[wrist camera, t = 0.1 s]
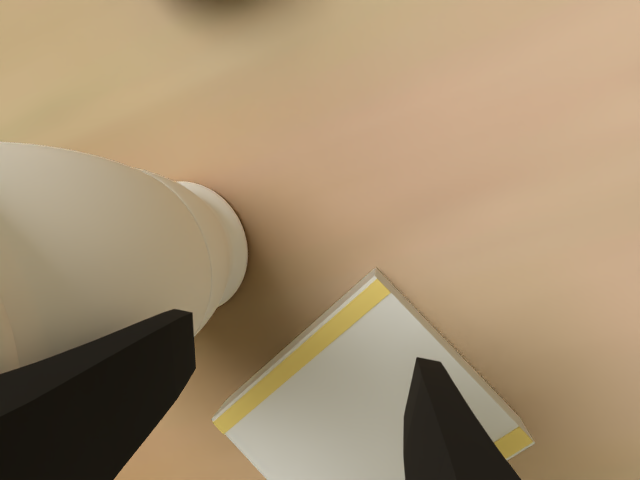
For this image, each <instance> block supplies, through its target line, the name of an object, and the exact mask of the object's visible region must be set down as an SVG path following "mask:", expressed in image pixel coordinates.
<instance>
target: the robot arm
mask: <svg viewBox="0 0 640 480" xmlns="http://www.w3.org/2000/svg"><path fill="white" fill-rule="evenodd" d="M195 369H196V364H195V347H194V329H193V312H188V311H183V310H178V309H172V310H169V311H166V312H163V313H160V314H158V315H155V316H153V317H150V318H148V319H145V320H143V321H140V322H138V323H135V324H133V325H131V326H128V327H126V328H123V329H121V330H118V331H116V332H113V333H111V334H109V335H106V336H104V337H101V338H99V339H96V340H94V341H91V342H89V343H86V344H83V345H81V346H78V347H76V348H73V349H70V350H68V351H65V352H62V353H60V354H57V355H54V356H52V357H49V358H47V359H44V360H41V361H38V362H35V363H32V364H29V365H26V366H23V367H20V368H17V369H14V370H11V371H8V372H5V373H2V374H0V480H114V478H115V477H116V476H117V474H118V473H119V472H120V471H121V469H122V468H123V467H124V466H125V464H126V463H127V462H128V461H129V459H130V458H131V457H132V456H133V454H134V453H135V452H136V451H137V449H138V448H139V447H140V446H141V444H142V443H143V442H144V441H145V439H146V438H147V437H148V436H149V434H150V433H151V432H152V431H153V429H154V428H155V427H156V426H157V424H158V423H159V422H160V420H161V419H162V418H163V417H164V415H165V414H166V413H167V411H168V410H169V409H170V408H171V406H172V405H173V404H174V402H175V401H176V400H177V398H178V397H179V395H180V393H181V392H182V390H183V389H184V387H185V386H186V384H187V382H188V381H189V379H190V377H191V375H192V374H193V372H194V370H195ZM403 460H404V472H405V480H521V479H520V477H519V476H518V475H517V474H516V472H515V471H514V470H513V468H512V467H511V466H510V464H509V463H508V462H507V460H506V459H505V458H504V456H503V455H502V453H501V452H500V451H499V449H498V448H497V447H496V445H495V444H494V442H493V441H492V439H491V438H490V437H489V435H488V434H487V432H486V431H485V429H484V428H483V426H482V425H481V423H480V422H479V421H478V419H477V418H476V416H475V415H474V413H473V412H472V410H471V409H470V407H469V406H468V404H467V402H466V401H465V399H464V398H463V396H462V395H461V393H460V391H459V390H458V388H457V387H456V385H455V383H454V382H453V380H452V379H451V377H450V375H449V374H448V372H447V370H446V369H445V367H444V366H443V364H442V363H441V362H440V361H435V360H430V359H425V358H420V357H416V362H415V367H414V371H413V376H412V380H411V385H410V389H409V394H408V398H407V403H406V408H405V412H404V426H403Z"/></svg>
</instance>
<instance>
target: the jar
mask: <svg viewBox="0 0 640 480" xmlns="http://www.w3.org/2000/svg"><path fill="white" fill-rule="evenodd" d="M247 261H248V248H247V241H246V236H245V232H244V230H243V227H242V224H241V222H240V220H239V218H238V216H237V215H236V213H235V212H234V210H233V209H232V207H231V206H230V205H229V204H228V203H227V202H226V201H225V200H224V199H223V198H222V197H221V196H220V195H218V194H217V193H216V192H214V191H213V190H211V189H209V188H207V187H205V186H203V185H200V184H197V183H192V182H185V181H178V182H175V181H173V180H171V179H169V178H166V177H164V176H162V175H159V174H156V173H153V172H150V171H146V170H143V169H139V168H134V167H130V166H128V165H125V164H122V163H120V162H117V161H114V160H111V159H107V158H104V157H100V156H97V155H93V154H88V153H84V152H80V151H75V150H70V149H64V148H58V147H51V146H44V145H36V144H26V143H13V142H0V374H2V373H5V372H8V371H11V370H14V369H17V368H20V367H23V366H26V365H29V364H32V363H35V362H38V361H41V360H44V359H47V358H49V357H52V356H54V355H57V354H60V353H62V352H65V351H68V350H70V349H73V348H76V347H78V346H81V345H83V344H86V343H89V342H91V341H94V340H96V339H99V338H101V337H104V336H106V335H109V334H111V333H113V332H116V331H118V330H121V329H123V328H126V327H128V326H131V325H133V324H135V323H138V322H140V321H143V320H145V319H148V318H150V317H153V316H155V315H158V314H160V313H163V312H166V311H169V310H172V309H178V310H183V311H188V312H193V329H194V337H195V336H196V334H197V333H198V332H199V331H200V330H201V329H202V328H203V327H204V325H205V324H206V323H207V322H208V320H209V319H210V318H211V316H212V315H213V313H214V312H215V310H216V308H217V307H219V306H221V305H222V304H224V303H225V302H227V301H228V300H229V299H230V298H231V297H232V296H233V295H234V294H235V292H236V291H237V290H238V288H239V286H240V285H241V283H242V280H243V278H244V275H245V272H246V267H247Z"/></svg>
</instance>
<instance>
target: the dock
mask: <svg viewBox="0 0 640 480" xmlns="http://www.w3.org/2000/svg"><path fill="white" fill-rule="evenodd" d="M416 357H420V358H425V359H430V360H435V361H440V362H441V363H442V364H443V366H444V367H445V369H446V370H447V372H448V374H449V375H450V377H451V379H452V380H453V382H454V383H455V385H456V387H457V388H458V390H459V391H460V393H461V395H462V396H463V398H464V399H465V401H466V402H467V404H468V406H469V407H470V409H471V410H472V412H473V413H474V415H475V416H476V418H477V419H478V421H479V422H480V423H481V425H482V426H483V428H484V429H485V431H486V432H487V434H488V435H489V437H490V438H491V439H492V441H493V442H494V444H495V445H496V447H497V448H498V449H499V451H500V452H501V453H502V455H503V456H504V458H505V459H506V460H509V459H511V458H512V457H514V456H516V455H517V454H519V453H520V452H522V451H524V450H525V449H527V448H529V447H530V446H532V445H534V444H535V442H534V440H533V438H532V437H531V435H530V433H529V432H528V430H527V428H526V427H525V425H524V423H523V422H522V420H521V418H520V417H519V416H518V415H517V414H516V413H515V412H514V411H513V410H512V409H511V407H510V406H509V405H508V404H507V403H506V402H505V401H504V400H503V399H502V398H501V397H500V396H499V395H498V394H497V393H496V392H495V391H494V390H493V389H492V388H491V387H490V386H489V385H488V384H487V382H486V381H485V380H484V379H483V378H482V377H481V376H480V375H479V374H478V373H477V372H476V371H475V370H474V369H473V368H472V367H471V366H470V365H469V364H468V363H467V362H466V361H465V360H464V359H463V357H462V356H461V355H460V354H459V353H458V352H457V351H456V350H455V349H454V348H453V347H452V346H451V345H450V344H449V343H448V342H447V341H446V340H445V339H444V338H443V337H442V336H441V335H440V334H439V332H438V331H437V330H436V329H435V328H434V327H433V326H432V325H431V324H430V323H429V322H428V321H427V320H426V319H425V318H424V317H423V316H422V315H421V314H420V313H419V312H418V311H417V310H416V309H415V307H414V306H413V305H412V304H411V303H410V302H409V301H408V300H407V299H406V298H405V297H404V296H403V295H402V294H401V293H400V292H399V291H398V290H397V289H396V288H395V287H394V286H393V285H392V283H391V282H390V281H389V280H388V279H387V278H386V277H385V276H384V275H383V274H382V273H381V272H380V271H379V270H378V269H377V268H376V267H375V268H374V269H373V270H372V271H371V272H369V273H368V274H367V275H366V276H365V277H364V278H363V279H362V280H360V281H359V282H358V283H357V284H356V285H355V286H354V287H353V288H351V289H350V290H349V291H348V292H347V293H346V294H345V295H344V296H342V297H341V298H340V299H339V300H338V301H337V302H336V303H334V304H333V305H332V306H331V307H330V308H329V309H328V310H327V311H325V312H324V313H323V314H322V315H321V316H320V317H319V318H318V319H316V320H315V321H314V322H313V323H312V324H311V325H310V326H309V327H307V328H306V329H305V330H304V331H303V332H302V333H301V334H300V335H298V336H297V337H296V338H295V339H294V340H293V341H292V342H291V343H289V344H288V345H287V346H286V347H285V348H284V349H283V350H282V351H280V352H279V353H278V354H277V355H276V356H275V357H274V358H273V359H271V360H270V361H269V362H268V363H267V364H266V365H265V366H264V367H262V368H261V369H260V370H259V371H258V372H257V373H256V374H255V375H253V376H252V377H251V378H250V379H249V380H248V381H247V382H245V383H244V384H243V385H242V386H241V387H240V388H239V389H238V390H236V391H235V392H234V393H233V394H232V395H231V396H230V397H229V398H227V399H226V401H225V402H224V403H223V405H222V406H221V407H220V409H219V410H218V411H217V412H216V414H215V415H214V416H213V418H212V419H211V420H212V421H213V424H214V425H215V426H216V427H217V428H218V429H219V430H220V431H221V432H222V433H223V435H224V434H225V435H226V436H227V437H228V438H229V439H230V440H231V441H232V442H233V443H234V444H235V446H236V447H237V448H238V449H239V450H240V451H241V452H242V453H243V454H244V455H245V456H246V457H247V458H248V460H249V461H250V462H251V463H252V464H253V465H254V466H255V467H256V468H257V469H258V470H259V471H260V472H261V474H262V475H263V476H264V477H265V478H266V479H267V480H405V472H404V460H403V426H404V412H405V408H406V403H407V398H408V394H409V389H410V385H411V380H412V376H413V371H414V367H415V362H416Z"/></svg>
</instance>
